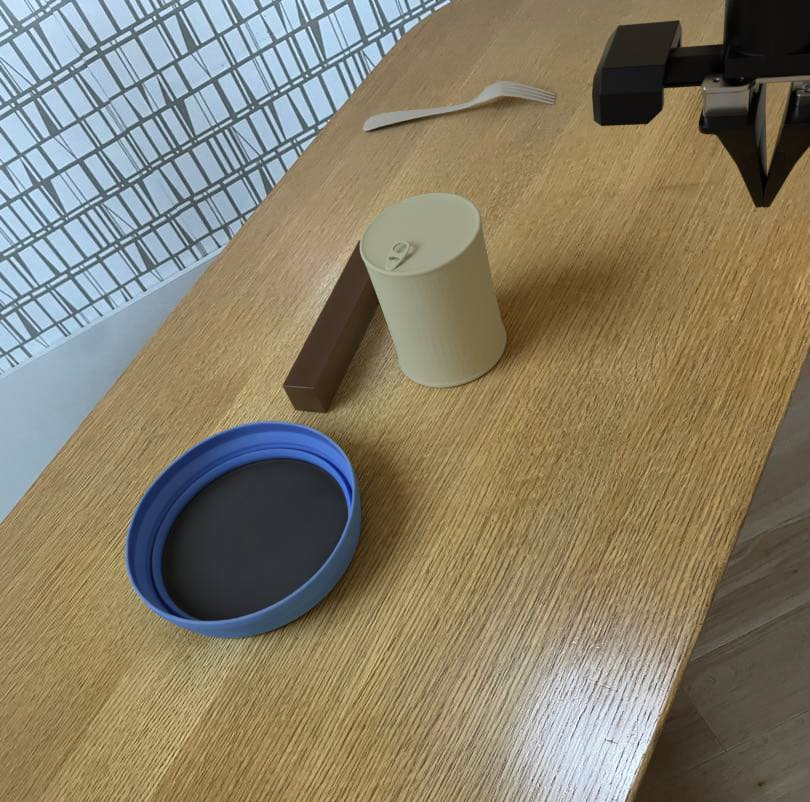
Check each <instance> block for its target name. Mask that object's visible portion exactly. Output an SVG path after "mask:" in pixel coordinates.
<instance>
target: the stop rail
mask: <svg viewBox="0 0 810 802" xmlns="http://www.w3.org/2000/svg"><path fill="white" fill-rule="evenodd" d="M360 241H361V239H359V240H358V241H357V243H356V245H355V247H354V249H353V251H352V252H351V254H350V256H349V258H348V260H347V262H346V264H345V265H344V267H343V270H342V272H341V273H340V275H339V277H338V279H337V281H336V282H335V284H334V287H333V288H332V291H330V294H329V296H328V298H327V300H326V302H325V304H324V306H323V307H322V310H321V311H320V313H319V315H318V317H317V319H316V321H315V323H314V325H313V327H312V329H311V331H310V332H309V334H308V336H307V337H306V340H305V341H304V343H303V345H302V348H301V350H300V351H299V353H298V355H297V357H296V359H295V361H294V362H293V364H292V366H291V368H290V370H289V372H288V374H287V375H286V378H285V380H284V381H283V383H282V388H283V390H284V392H285V394H286V396H287V397H288V399H289V401H290V403H291V405H292V407H293V409H294V411H300V412H309V413H320V414H326V413H327V412H328V410H329V408H330V406H331V404H332V401H333V400H334V397H335V396H336V393H337V391H338V390H339V387H340V385H341V383H342V382H343V379H344V377H345V376H346V373H347V371H348V369H349V367H350V365H351V363H352V360H353V358H354V356H355V354H356V352H357V350H358V348H359V346H360V344H361V342H362V340H363V338H364V335H365V334H366V332H367V330H368V327H369V325H370V323H371V321H372V319H373V316H374V315H375V312H376V310H377V308H378V307H379V306H380V302H379V299H378V297H377V294H376V291H375V289H374V286H373V283H372V281H371V278H370V275H369V273H368V270H367V267H366V265H365V262H364V261H363V259H362V257H361V253H360Z"/></svg>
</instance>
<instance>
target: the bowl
mask: <svg viewBox="0 0 810 802" xmlns="http://www.w3.org/2000/svg"><path fill="white" fill-rule="evenodd" d="M360 493H361V492H360V486H359V480H358V477H357V473H356V471H355V469H354V466H353V464H352V462H351V460H350V459H349V457H348V455H347V454H346V452H345V451H344V450H343V448H341V446H340V445H339V444H338V443H337V442H336V441H335V440H334V439H332V438H331V437H330V436H328V435H327V434H325V432H322V431H320V430H318V429H317V428H313V427H311V426H308V425H305V424H301V423H297V422H296V423H295V422H292V421H291V422H290V421H280V420H260V421H253V422H247V423H242V424H239V425H236V426H232V427H230V428H226V429H223V430H222V431H219V432H217V433H214V434H213V435H211V436H208V437H207V438H205V439H203V440H201V441H199V442H197V443H196V444H195V445H193V446H192V447H190V448H189V449H187V450H186V451H184V453H183V452H182V454H181V455H179V456H178V457H177V458H176V459H174V460H173V461H172V462H171V463H170V464H169V465H168V466H167V467H166V468H165V469H163V471H162V472H160V474H159V475H158V476H157V477H156V478H155V479H154V480H153V482H152V483H151V484H150V485H149V487H148V488H147V489H146V490H145V492H144V494H143V496H142V497H141V498H140V500H139V502H138V503H137V506H136V508H135V510H134V512H133V514H132V517H131V520H130V523H129V526H128V529H127V534H126V538H125V539H126V540H125V550H124V552H125V555H124V556H125V557H124V558H125V567H126V572H127V576H128V579H129V581H130V584H131V586H132V588H133V590H134V591H135V593H136V594H137V595H138V597H139V598H140V600H142V602H143V603H144V604H145V605H146V606H147V608H149V609H150V610H151V611H152V612H153V613H154V614H156V615H157V616H159V617H160V618H162V619H163V620H165V621H168V622H170V623H172V624H173V625H176V626H178V627H180V628H183V629H186V630H188V631H191V632H193V633H196V634H198V635H201V636H202V635H203V636H206V637H211V638H218V639H239V638H247V637H253V636H258V635H261V634H265V633H268V632H271V631H273V630H276V629H278V628H281V627H283V626H284V627H285V626H286V625H288V624H290V623H291V622H293V621H295V620H297V619H298V618H300V617H302V616H303V615H304V614H306V613H308V612H309V611H310V610H311V609H313V608H314V607H315V606H317V605H318V604H319V603H320V602H321V601H322V600H324V598H325V597H327V595H329V593H330V592H331V591H332V590H333V589H334V588H335V586H336V585H337V584H338V583H339V581H340V580H341V579H342V577H343V576H344V574H345V572H346V571H347V569H348V568H349V566H350V564H351V562H352V559H353V557H354V555H355V553H356V550H357V547H358V544H359V540H360V537H361V529H362V509H361V494H360Z"/></svg>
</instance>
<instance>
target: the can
mask: <svg viewBox="0 0 810 802" xmlns="http://www.w3.org/2000/svg"><path fill="white" fill-rule="evenodd" d="M483 229H484V228H483V219H482V215H481V211H480V210H479V208H478V207H477V205H476V204H475V203H474V202H472V201H471V200H470V199H468V198H467V197H464V196H462V195H459V194H455V193H451V192H429V193H422V194H417V195H413V196H411V197H407V198H405V199H402V200H400V201H398V202H395V203H394V204H392V205H390V206H388V207H386V208H385V209H384V210H382V211H381V212H379V214H377V215H376V216H375V217H374V218H373V219H372V220H371V221H370V222H369V223H368V225H367V226H366V228H365V229H364V230H363V233H362V235H361V238H360V240H361V241H360V253H361V257H362V259H363V261H364V262H365V265H366V267H367V270H368V273H369V275H370V278H371V281H372V283H373V286H374V289H375V291H376V294H377V297H378V299H379V302H380V303H379V306H380V308H381V310H382V313H383V316H384V319H385V322H386V325H387V328H388V330H389V333H390V336H391V340H392V341H393V345H394V349H395V352H396V353H397V354H396V355H397V362H398V365H399V368H400V370H401V371H402V373H403V374H404V375H405V376H406V377H407V378H408V379H409V380H410V381H412V382H414V383H416V384H418V385H420V386H423V387H428V388H432V389H433V388H434V389H446V388H454V387H458V386H462V385H466V384H468V383H470V382H471V383H472V382H473V381H475V380H477V379H479V378H480V377H482V376H483V375H485V374H486V373H488V372H489V371H490V370H491V369H493V368H494V367H495V366H496V364H497V363H498V362H499V360H501V357H503V354H504V352H505V350H506V345H507V340H508V339H507V331H506V328H505V325H504V324H503V320H502V317H501V313H500V309H499V303H498V298H497V295H496V288H495V285H494V281H493V276H492V270H491V266H490V261H489V256H488V250H487V245H486V240H485V236H484V230H483Z"/></svg>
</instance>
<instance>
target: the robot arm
mask: <svg viewBox="0 0 810 802" xmlns="http://www.w3.org/2000/svg"><path fill="white" fill-rule="evenodd" d="M722 34H723V35H722V43H718V44H717V43H716V44H703V45H691V46H689V45H688V46H682V43H683V42H682V41H683V27H682V23H681V21H680V19H677V20H668V21H666V20H665V21H653V22H643V23H631V24H620V25H617V27H616V28H615V29H614V30H613V32H612V33H611V35H610V36H609V37H608V38H607V41H606V43H605V46H604V48H603V51H602V53H601V57H600V60H599V62H598V64H597V67H596V70H595V72H594V75H593V77H592V90H591V101H592V114H593V115H592V116H593V121H594V122H595V123H596V124H598V126H600V127H613V126H614V127H615V126H638V125H639V126H640V125H649V124H650V123H651V122H652V121H653V120H654V119H655V118H656V117H657V116H658V115H659V114H660V113H661V112H662V111H663V109H664V105H665V89H675V88H692V87H693V88H694V87H695V88H696V87H701V89H700V97H702V107H701V111H700V115H699V119H698V132H699V133H700V134H702V135H713V136H716V137H717V139H718V141H720V143H721V144H722V146H723V147H724V149H725V150H726V152H727V153H728V154H729V156H730V157H731V159H732V161H733V162H734V164H735V165H736V166H737V169H738V171H739V174H740V175H741V178H742V181H743V182H744V185H745V187H746V189H747V191H748V194H749V196H750V198H751V202H752V203H753V205H754V207H755V208H757V209H758V208H761V209H762V208H763V209H765V208H766V209H767V208H770V207H771V206H772V204H773V203H774V201H775V199H776V197H777V196H778V194H779V192H780V191H781V189H782V187H783V186H784V184H785V182H786V180H787V179H788V177H789V175H790V174H791V172H792V170H793V169H794V167H795V166H796V164H797V163H798V162H799V161H800V159H801V158H802V157H803V155H804V154H805V153H806V152H807V151H808V149H809V148H810V0H724V17H723V33H722ZM780 83H790V86H789V89H788V93H787V98H786V102H785V106H784V110H783V113H782V117H781V121H780V125H779V127H778V132H777V135H776V139H775V144H774V147H773V151H772V154H771V159H770V163H769V166H768V153H767V152H768V150H767V149H768V147H767V115H766V114H767V112H766V111H767V110H766V107H767V104H766V103H767V102H766V101H767V84H780Z"/></svg>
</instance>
